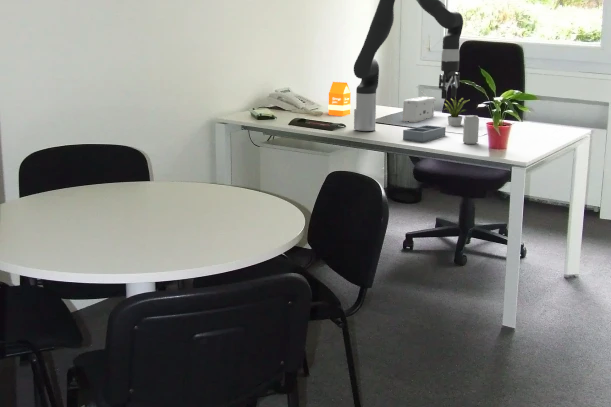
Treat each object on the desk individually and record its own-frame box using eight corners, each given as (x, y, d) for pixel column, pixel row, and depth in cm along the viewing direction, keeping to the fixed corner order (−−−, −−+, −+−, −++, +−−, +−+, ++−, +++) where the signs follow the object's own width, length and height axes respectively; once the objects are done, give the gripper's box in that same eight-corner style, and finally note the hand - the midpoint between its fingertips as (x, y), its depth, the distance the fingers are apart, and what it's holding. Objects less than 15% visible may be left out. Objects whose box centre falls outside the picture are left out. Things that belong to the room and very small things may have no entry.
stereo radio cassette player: (421, 121, 414) (422, 82, 409) (435, 122, 409) (437, 83, 404) (401, 126, 397) (403, 85, 392) (416, 127, 392) (417, 86, 388)
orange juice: (342, 122, 410) (343, 83, 405) (328, 121, 414) (328, 82, 409) (350, 120, 416) (351, 82, 411) (335, 119, 421) (336, 81, 416)
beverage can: (477, 144, 343) (479, 117, 340) (462, 144, 345) (464, 116, 342) (477, 142, 349) (479, 115, 346) (462, 141, 351) (464, 114, 348)
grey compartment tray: (423, 142, 348) (423, 132, 347) (402, 140, 355) (403, 130, 354) (445, 137, 363) (445, 127, 362) (425, 134, 370) (425, 125, 369)
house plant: (470, 127, 393) (472, 94, 389) (473, 131, 380) (475, 97, 376) (441, 126, 395) (442, 93, 391) (443, 131, 381) (444, 96, 377)
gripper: (450, 58, 348) (449, 95, 352) (434, 60, 337) (433, 98, 341) (466, 59, 344) (464, 97, 347) (450, 61, 333) (448, 99, 337)
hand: (448, 97), depth 344 cm, fingers open, 8 cm apart
